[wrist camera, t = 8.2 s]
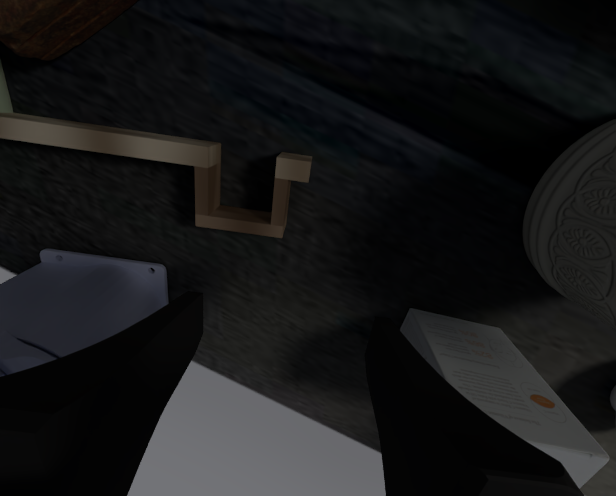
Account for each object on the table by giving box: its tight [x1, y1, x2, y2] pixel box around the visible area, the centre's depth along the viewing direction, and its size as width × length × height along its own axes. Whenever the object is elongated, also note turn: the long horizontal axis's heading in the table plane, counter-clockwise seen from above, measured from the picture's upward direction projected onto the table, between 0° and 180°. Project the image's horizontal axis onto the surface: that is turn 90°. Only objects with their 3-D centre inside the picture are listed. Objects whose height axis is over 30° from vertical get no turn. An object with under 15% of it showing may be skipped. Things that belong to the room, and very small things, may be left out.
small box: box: [400, 308, 609, 488], centre depth 21 cm, size 8×6×10 cm
